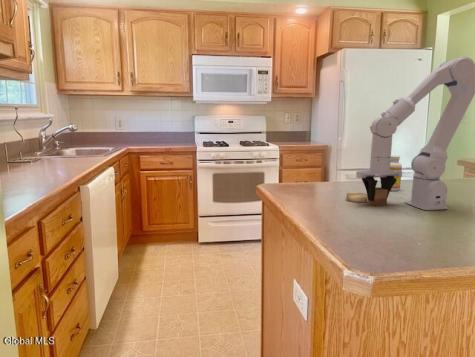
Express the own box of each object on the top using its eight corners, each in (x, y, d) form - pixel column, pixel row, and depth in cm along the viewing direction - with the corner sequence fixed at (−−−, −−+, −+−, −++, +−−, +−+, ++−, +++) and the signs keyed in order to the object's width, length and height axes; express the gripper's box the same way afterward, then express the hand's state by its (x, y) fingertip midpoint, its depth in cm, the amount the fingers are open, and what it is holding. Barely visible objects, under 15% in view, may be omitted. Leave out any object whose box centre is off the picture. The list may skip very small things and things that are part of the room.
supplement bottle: (402, 191, 130) (406, 156, 128) (384, 191, 130) (387, 156, 128) (395, 187, 137) (398, 154, 135) (378, 187, 137) (380, 154, 135)
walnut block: (386, 205, 109) (387, 189, 108) (374, 206, 108) (376, 190, 108) (378, 202, 113) (380, 187, 112) (367, 203, 112) (368, 187, 111)
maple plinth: (371, 202, 113) (371, 196, 113) (352, 203, 112) (353, 197, 112) (360, 197, 120) (360, 191, 119) (342, 198, 118) (343, 192, 118)
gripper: (393, 155, 113) (390, 196, 116) (352, 155, 111) (349, 198, 113) (408, 157, 107) (404, 201, 109) (364, 158, 104) (361, 203, 106)
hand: (377, 200), depth 110 cm, fingers closed on walnut block, 4 cm apart
